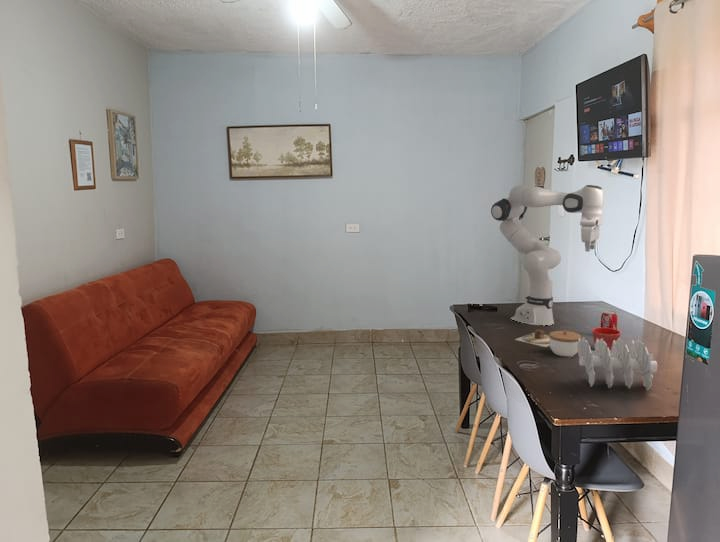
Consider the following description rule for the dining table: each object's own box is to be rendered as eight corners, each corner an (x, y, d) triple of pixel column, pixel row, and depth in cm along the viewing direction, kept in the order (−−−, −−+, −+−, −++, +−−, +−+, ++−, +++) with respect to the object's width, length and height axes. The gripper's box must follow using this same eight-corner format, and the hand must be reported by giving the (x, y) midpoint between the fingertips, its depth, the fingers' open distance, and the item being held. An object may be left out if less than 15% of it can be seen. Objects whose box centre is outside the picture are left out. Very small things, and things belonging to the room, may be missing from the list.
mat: (514, 341, 240) (514, 339, 239) (533, 334, 249) (533, 332, 249) (545, 349, 227) (545, 347, 227) (564, 341, 237) (564, 339, 237)
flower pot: (608, 358, 213) (609, 335, 212) (586, 351, 223) (587, 329, 222) (625, 353, 218) (626, 331, 217) (602, 347, 228) (603, 326, 226)
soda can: (618, 339, 239) (619, 314, 237) (602, 338, 241) (603, 313, 239) (614, 334, 246) (615, 310, 244) (598, 334, 247) (599, 310, 245)
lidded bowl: (584, 354, 219) (585, 329, 217) (573, 362, 210) (574, 336, 208) (555, 349, 227) (556, 324, 225) (543, 356, 218) (544, 331, 216)
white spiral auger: (655, 403, 178) (579, 395, 183) (643, 367, 192) (572, 360, 197) (670, 366, 168) (589, 359, 173) (656, 330, 182) (581, 324, 187)
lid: (517, 339, 239) (517, 330, 238) (534, 333, 248) (534, 324, 247) (544, 346, 228) (545, 336, 228) (561, 339, 237) (561, 330, 236)
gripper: (589, 219, 247) (587, 247, 249) (579, 221, 230) (577, 252, 233) (603, 219, 243) (601, 248, 245) (594, 222, 227) (592, 253, 229)
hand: (589, 250), depth 239 cm, fingers open, 8 cm apart
